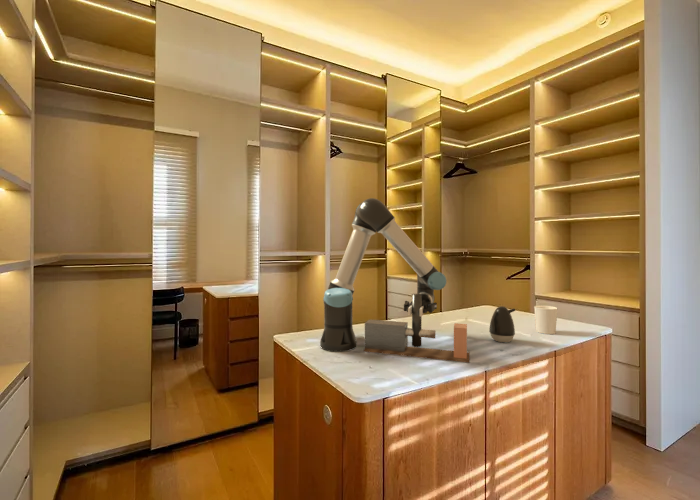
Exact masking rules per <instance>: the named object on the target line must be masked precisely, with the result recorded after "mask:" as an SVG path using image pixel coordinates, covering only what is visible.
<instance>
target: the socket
mask: <svg viewBox="0 0 700 500" xmlns="http://www.w3.org/2000/svg"><path fill="white" fill-rule="evenodd" d="M467 348H468V324H467V323H456V322H455V323H454V324H453V351H454V357H455V358H465V359H467V352H468V350H467Z"/></svg>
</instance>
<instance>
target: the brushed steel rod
mask: <svg viewBox="0 0 700 500" xmlns="http://www.w3.org/2000/svg"><path fill="white" fill-rule="evenodd" d="M411 302H412V314H411V328H410V327H408V328H405V336H408V337H411V347H419V348H422V338H426V339H436V336H437V333H436V330H435V329H424V328H423V329H422V320H423V319H422V316H423V315H422V316H420V308H421V307H422V294H417V293H411Z"/></svg>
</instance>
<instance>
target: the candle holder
mask: <svg viewBox="0 0 700 500" xmlns="http://www.w3.org/2000/svg"><path fill="white" fill-rule="evenodd" d="M533 309H534V322H535V323H534V326H535V332H536V333H538V332H539V333H538V334H542V333H544V334H543V335H555V334H556V330H557V321H558V307H556V306H552V305H534V306H533Z"/></svg>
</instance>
